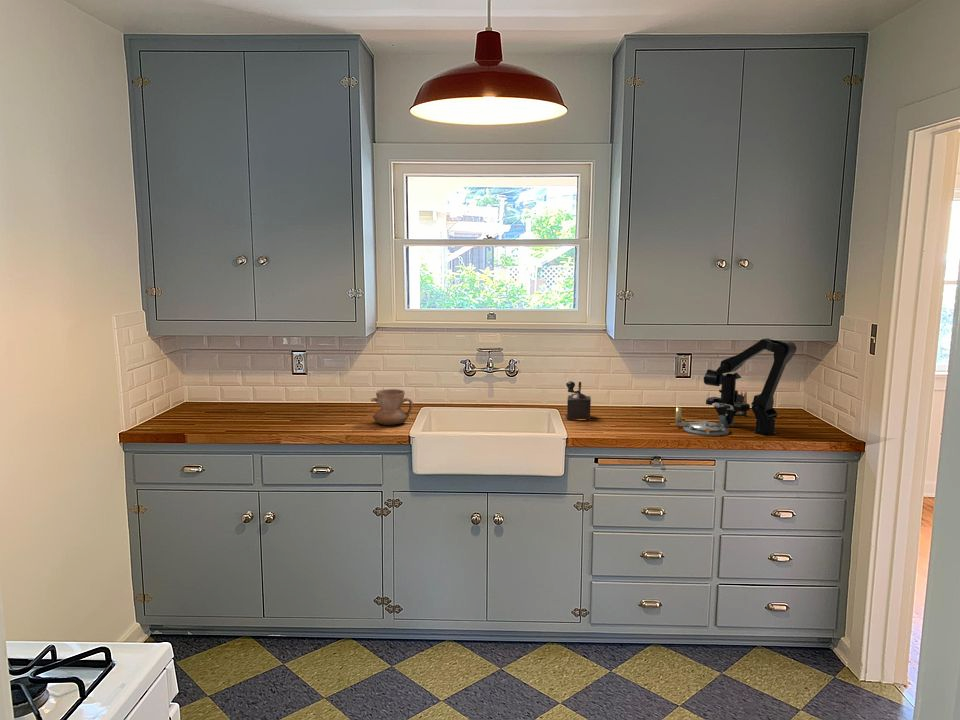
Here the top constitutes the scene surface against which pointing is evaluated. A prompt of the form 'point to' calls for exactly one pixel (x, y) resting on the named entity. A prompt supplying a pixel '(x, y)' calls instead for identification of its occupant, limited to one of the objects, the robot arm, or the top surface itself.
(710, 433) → the index plate
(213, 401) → the top surface
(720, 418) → the link block
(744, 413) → the ammunition clip
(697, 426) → the grey crank mechanism
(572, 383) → the pepper mill
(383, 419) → the ceramic jug
